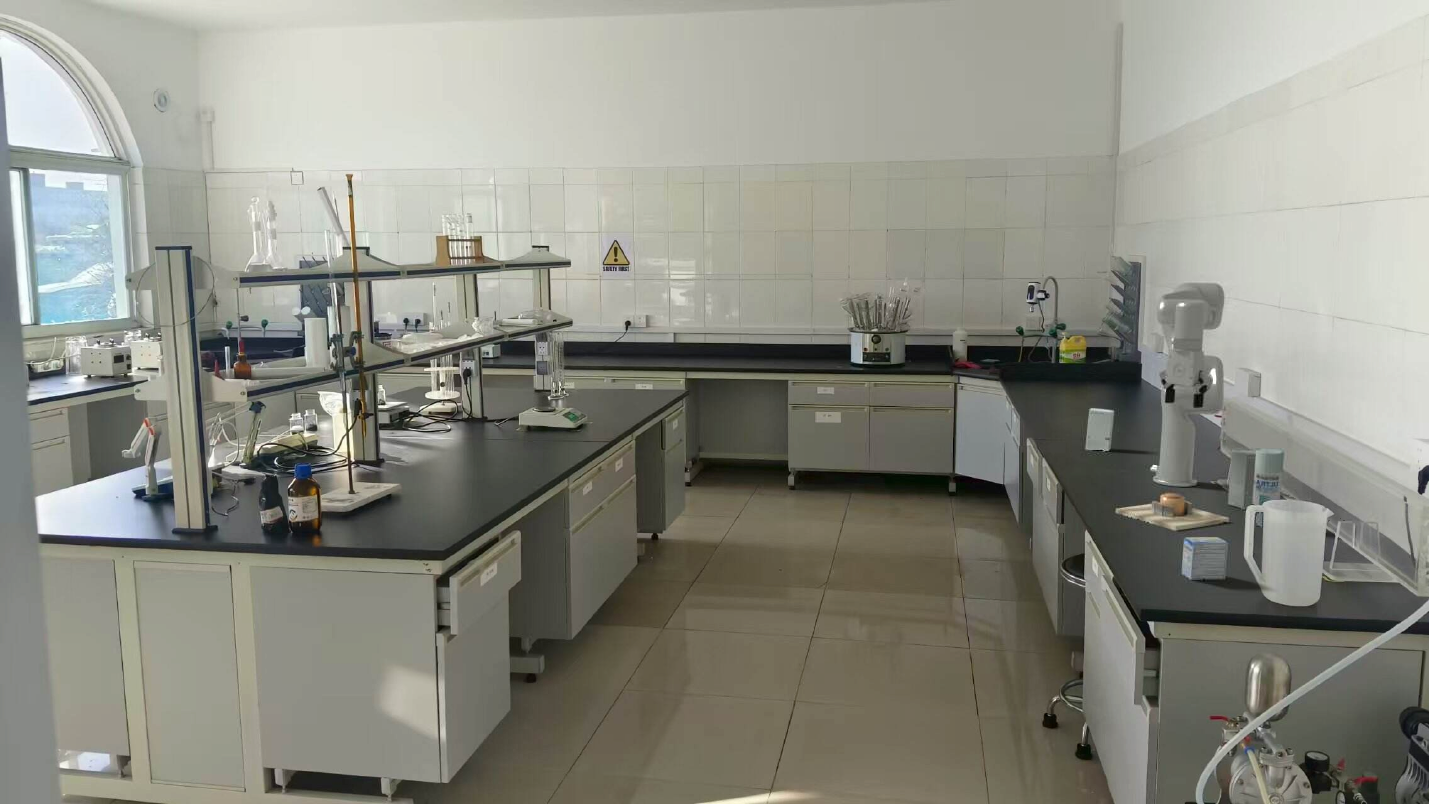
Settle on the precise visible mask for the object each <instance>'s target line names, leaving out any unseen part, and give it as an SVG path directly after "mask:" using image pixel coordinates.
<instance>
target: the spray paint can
mask: <svg viewBox="0 0 1429 804" xmlns="http://www.w3.org/2000/svg"><path fill="white" fill-rule="evenodd" d="M1255 451H1256V460H1255V474H1254V488H1253V502H1252V504H1254V505H1261V504H1263V503H1264V502H1266V501H1268V500H1276V499H1280V500H1281V491H1282V481H1283V472H1284V471H1283V469H1284V461H1285V460H1284V459H1285V452H1284V451H1283V450H1279V449H1272V448H1258V449H1256V450H1255ZM1256 523H1257V525H1258V526H1260V527H1259V528H1260V529H1263V528H1262V513H1261V512H1259V514H1257V516H1256Z"/></svg>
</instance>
